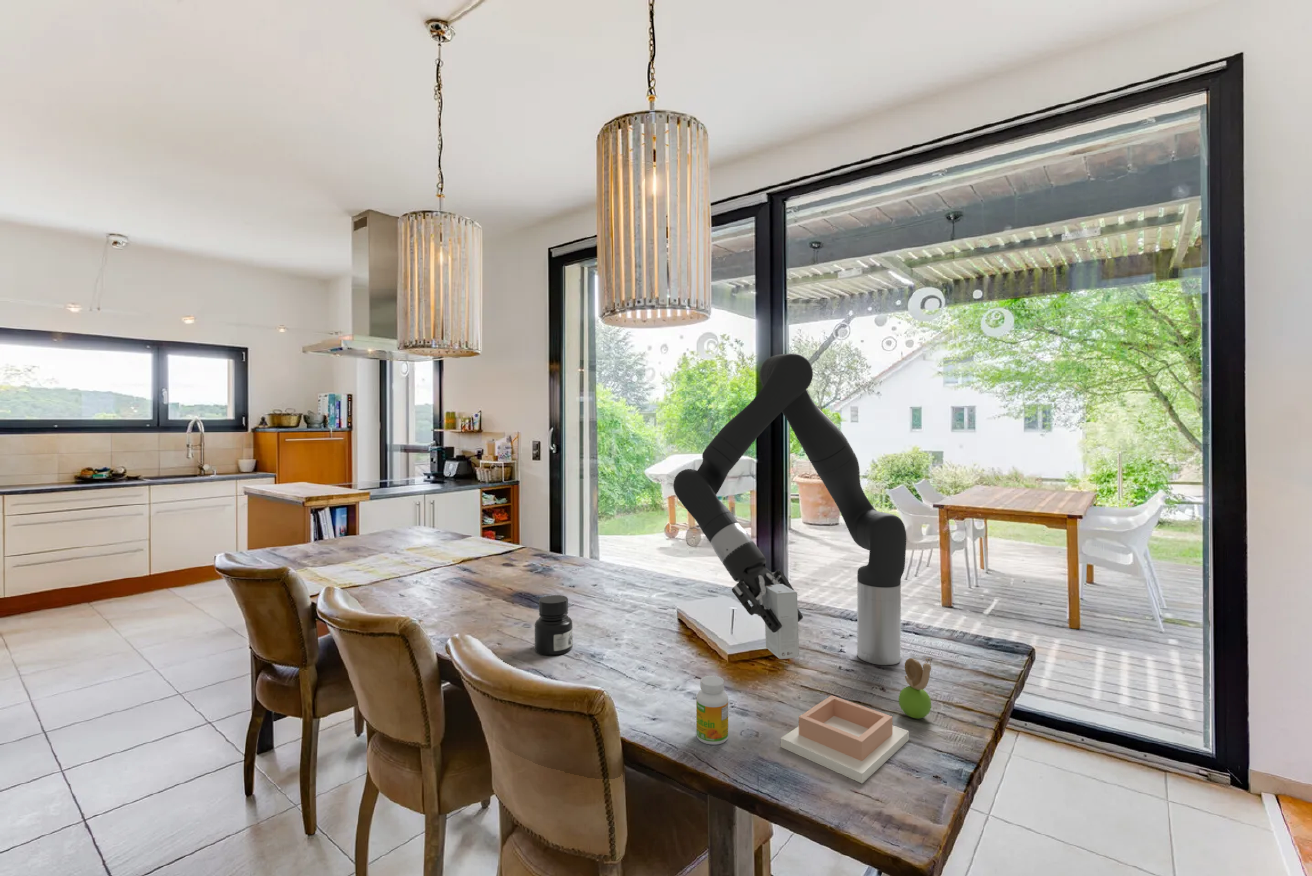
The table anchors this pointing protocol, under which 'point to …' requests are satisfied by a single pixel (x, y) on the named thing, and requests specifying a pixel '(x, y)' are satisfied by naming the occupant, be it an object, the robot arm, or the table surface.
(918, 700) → the snail figurine
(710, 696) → the supplement bottle
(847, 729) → the socket stand
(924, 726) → the table surface
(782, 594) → the skincare box
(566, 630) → the ink bottle
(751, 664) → the table surface
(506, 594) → the table surface
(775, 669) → the table surface
